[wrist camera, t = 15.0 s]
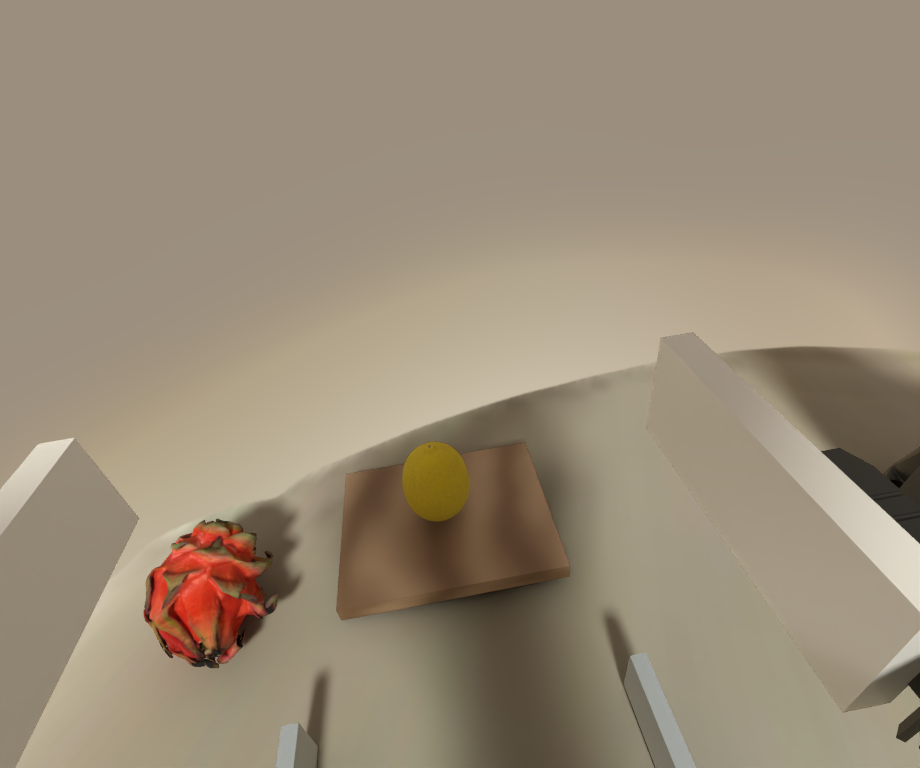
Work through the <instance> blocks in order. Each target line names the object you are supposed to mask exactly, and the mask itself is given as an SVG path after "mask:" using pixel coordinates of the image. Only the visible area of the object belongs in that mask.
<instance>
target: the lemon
mask: <svg viewBox="0 0 920 768" xmlns="http://www.w3.org/2000/svg"><path fill="white" fill-rule="evenodd" d="M402 486H403V491H404V495H405V498H406V500H407V503H408V504H409V506H410V507H411V509H412V510H413V511H414V512H415V513H416V514H417V515H419V516H420V517H422V518H423V519H426V520H429V521H435V522H438V521H445V520H448V519H450V518H452V517H454V516H455V515H456V514H457V513H459V512H460V511H461V509H462V508H463V507H464V505H465V503H466V501H467V498H468V495H469V475H468V471H467V468H466V465H465V463H464V460H463V459H462V457H461V456H460V454H459V453H458V452H457V451H456V450H455V449H454V448H452V447H451V446H449V445H447V444H445V443H441V442H428V443H425V444H422V445H420V446H418V447H417V448H415V449H414V450H413V451H412V452H411V453H410V455H409V456H408V457H407V459H406V462H405V464H404V467H403V476H402Z"/></svg>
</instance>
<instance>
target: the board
mask: <svg viewBox="0 0 920 768" xmlns="http://www.w3.org/2000/svg"><path fill="white" fill-rule="evenodd" d="M460 456H461V457H462V459H463V460H464V463H465V465H466V468H467V471H468V475H469V495H468V498H467V501H466V503H465V505H464V507H463V508H462V509H461V511H460V512H459V513H457V514H456V515H455V516H454V517H452V518H450V519H448V520H445V521H438V522H435V521H429V520H426V519H423V518H422V517H420V516H419V515H417V514H416V513H415V512H414V511H413V510H412V509H411V507H410V506H409V504H408V503H407V500H406V498H405V495H404V491H403V486H402V476H403V467H404V464H400V465H395V466H389V467H383V468H378V469H372V470H367V471H361V472H355V473H350V474H346V484H345V498H344V512H343V526H342V539H341V553H340V567H339V581H338V595H337V608H336V611H337V613H338V615H339V617H340V619H341V620H347V619H352V618H357V617H362V616H367V615H372V614H378V613H383V612H388V611H393V610H398V609H404V608H409V607H414V606H419V605H424V604H429V603H435V602H440V601H445V600H450V599H455V598H461V597H466V596H471V595H476V594H481V593H486V592H492V591H497V590H502V589H507V588H512V587H518V586H523V585H528V584H533V583H538V582H543V581H549V580H554V579H559V578H564V577H569V575H570V564H569V562H568V559H567V556H566V553H565V551H564V548H563V545H562V542H561V540H560V537H559V534H558V531H557V529H556V526H555V523H554V520H553V518H552V515H551V512H550V509H549V507H548V504H547V501H546V498H545V496H544V493H543V490H542V487H541V485H540V482H539V479H538V477H537V474H536V471H535V468H534V466H533V463H532V460H531V457H530V455H529V452H528V449H527V446H526V444H525V442H523V443H518V444H512V445H507V446H501V447H495V448H490V449H484V450H479V451H473V452H467V453H462V454H460Z"/></svg>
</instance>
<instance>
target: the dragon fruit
mask: <svg viewBox="0 0 920 768" xmlns="http://www.w3.org/2000/svg"><path fill="white" fill-rule="evenodd" d="M256 539H257V538H256V533H246V532H243V528H242V526H241V525H239V524H235V523H234V522H233V523H232V522H230V521H222V520H220V519H216V522H214V521H211V522H207V523H206V522H205V520H204V521H202V522H200V523H199V524H198V525H196V527H195V528H194V530H193V533H190V534H186V535H183V536H180V537H179V538H178V539H177V541H176V543H173V544H172V545H171V549H172V553H171V554H170V555H169V556H168V558H167V559H166V560H165V561H164V562H163V564H162V565H161V566H160V567H157V568H155V569H153V570H152V572H151V573H150V574H149V576H148V577H147V580H146V589H147V590H146V602H145V610H144V618H145V621H146V622H147V623H148V624H149V625H150V626H151V627H152V628H153V630H154V633H155V635H156V637H157V639H158V640H159V642H160V645H161V647H162V648H163V647H164V649H165V650H164V649H163V650H164V651H165V652H166V654H167V655H168V656H169V657H170V658H173V656H172V654H175V655H177V656H178V657H181V658H183V659H185V660H186V661H187V662H188V663H189V664H190V665H192V666H194V667H202V666H205V665H207V667H209V668H219V664H224V663H227V662H228V661H229V660H230V659H231V658H232V657H233V656H234V655H235V654H236V653H237V652H238V651H239V650H240V649H241V648H242V647H243V645H242V642H243V640H244V637H245V630H244V631H243V633H242V635H238V629H239V627H240V625H241V624H242V622H243V620H244V618H245V616H246V615H254V616H255V617H257V618H259V619H262V617H263V616H266V615H268V614H271V613H272V612H273V611H274V610H275V609H276V606H277V602H278V598H279V594H278V593H277V594H275V595H273V596H272V597H270V598H269V599H268V600H267V601H266V602H264V600H265V598H266V596H267V594H266V593H265V592H264V591H263V589H262V588H261V587H259V586H258V585H257V583H256V579H255V577H258V576H260V575H261V574H262V573H263V572H264V571H266V570H267V569H268V568H269V567H270V565H271V563H272V558H273V555H272V553H271V552H268V551H265V554H266V555H267V557H268V558H266V559H264V558H260V557H256V556H255V553H256V547H255V544H256ZM237 635H238V637H237ZM241 636H242V638H241ZM236 638H237V640H236ZM240 639H241V640H240ZM166 645H167V647H166ZM206 657H207V659H204V658H206ZM215 657H218V659H217V661H218V663H219V664H218V663H216V661H215ZM231 660H232V659H231Z"/></svg>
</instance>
